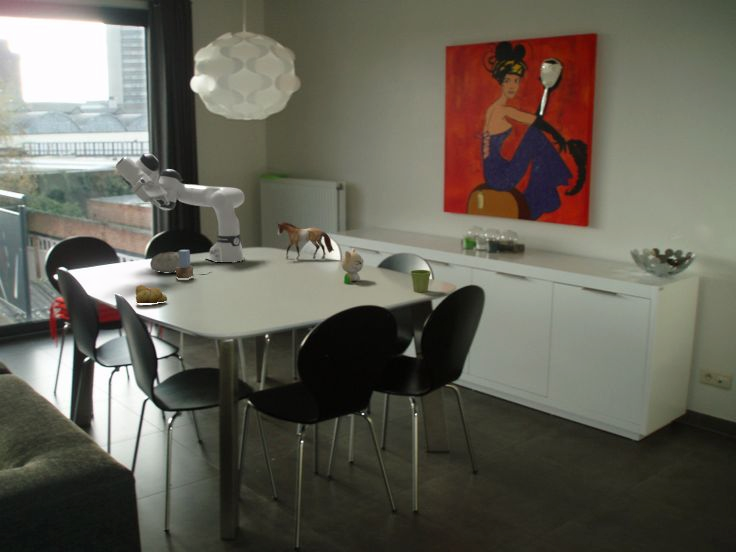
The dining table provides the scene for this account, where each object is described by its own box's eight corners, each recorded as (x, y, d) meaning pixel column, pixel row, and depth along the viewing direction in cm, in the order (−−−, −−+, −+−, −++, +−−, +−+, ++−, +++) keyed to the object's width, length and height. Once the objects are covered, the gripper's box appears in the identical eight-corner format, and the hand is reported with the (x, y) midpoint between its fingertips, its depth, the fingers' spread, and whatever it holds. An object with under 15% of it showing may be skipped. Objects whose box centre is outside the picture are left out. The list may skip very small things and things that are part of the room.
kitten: (357, 284, 368) (356, 252, 365) (336, 283, 371) (336, 251, 369) (367, 278, 382) (367, 247, 379) (347, 277, 385) (347, 246, 382)
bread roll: (168, 301, 339) (167, 283, 338) (165, 306, 330) (164, 287, 328) (137, 302, 338) (136, 284, 337) (133, 307, 329) (131, 288, 327)
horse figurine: (277, 260, 435) (275, 222, 431) (279, 258, 442) (278, 220, 438) (334, 260, 432) (333, 222, 428) (335, 258, 439) (335, 220, 435)
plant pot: (435, 290, 354) (435, 270, 353) (425, 294, 346) (425, 274, 345) (416, 288, 359) (416, 269, 357) (406, 292, 351) (406, 272, 349)
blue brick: (179, 267, 384) (178, 251, 383) (182, 266, 388) (181, 249, 387) (187, 267, 384) (186, 251, 382) (190, 266, 388) (189, 249, 386)
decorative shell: (143, 274, 400) (142, 254, 398) (163, 268, 417) (162, 249, 415) (175, 276, 395) (173, 256, 393) (193, 269, 411) (192, 250, 409)
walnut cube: (176, 280, 385) (175, 268, 384) (182, 278, 390) (181, 265, 389) (188, 280, 383) (187, 268, 382) (193, 278, 389) (192, 266, 388)
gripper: (149, 187, 394) (169, 207, 394) (129, 191, 374) (150, 212, 374) (157, 178, 392) (177, 198, 392) (137, 181, 373) (158, 202, 373)
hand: (163, 205), depth 383 cm, fingers open, 8 cm apart
